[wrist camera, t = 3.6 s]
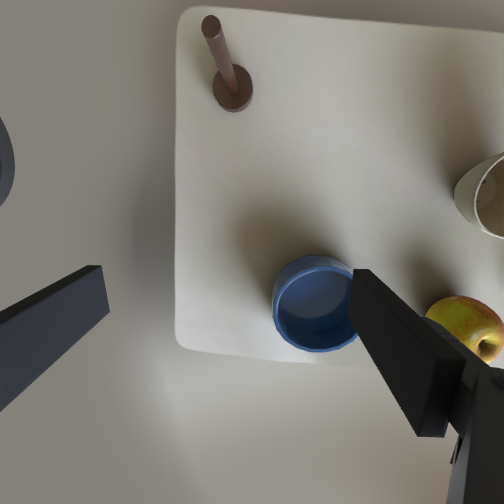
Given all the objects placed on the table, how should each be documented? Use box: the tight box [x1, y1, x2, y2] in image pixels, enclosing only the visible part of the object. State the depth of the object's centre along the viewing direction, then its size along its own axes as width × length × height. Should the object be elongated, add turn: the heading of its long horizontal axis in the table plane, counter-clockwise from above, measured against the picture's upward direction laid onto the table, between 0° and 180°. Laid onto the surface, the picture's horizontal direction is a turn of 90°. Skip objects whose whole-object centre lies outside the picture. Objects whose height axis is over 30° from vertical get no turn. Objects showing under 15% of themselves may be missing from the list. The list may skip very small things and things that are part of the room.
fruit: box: [425, 296, 504, 364], centre depth 37 cm, size 10×9×8 cm
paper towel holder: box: [201, 15, 253, 112], centre depth 25 cm, size 5×5×15 cm
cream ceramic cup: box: [454, 152, 504, 239], centre depth 31 cm, size 10×10×7 cm
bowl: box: [272, 255, 359, 352], centre depth 38 cm, size 13×13×5 cm
